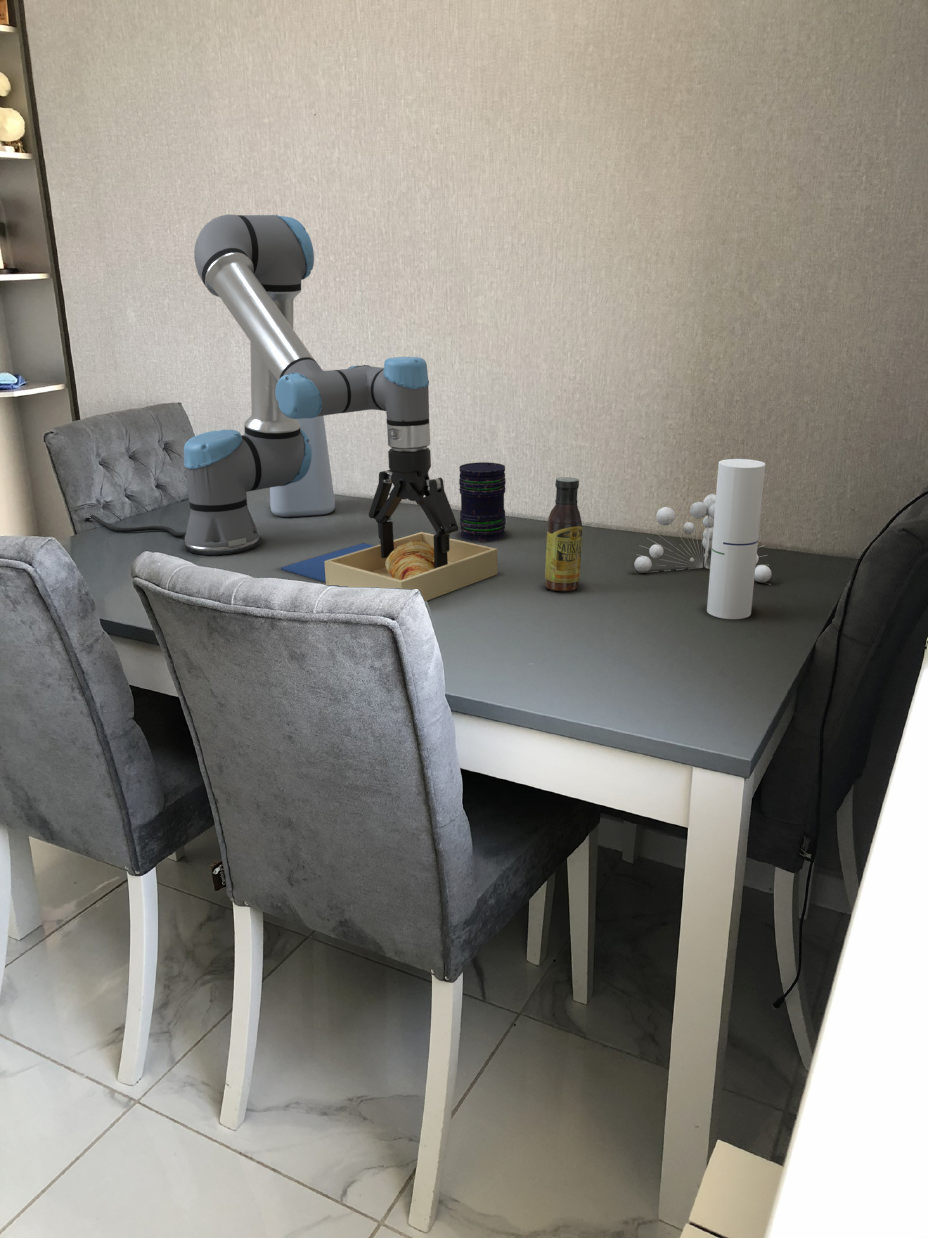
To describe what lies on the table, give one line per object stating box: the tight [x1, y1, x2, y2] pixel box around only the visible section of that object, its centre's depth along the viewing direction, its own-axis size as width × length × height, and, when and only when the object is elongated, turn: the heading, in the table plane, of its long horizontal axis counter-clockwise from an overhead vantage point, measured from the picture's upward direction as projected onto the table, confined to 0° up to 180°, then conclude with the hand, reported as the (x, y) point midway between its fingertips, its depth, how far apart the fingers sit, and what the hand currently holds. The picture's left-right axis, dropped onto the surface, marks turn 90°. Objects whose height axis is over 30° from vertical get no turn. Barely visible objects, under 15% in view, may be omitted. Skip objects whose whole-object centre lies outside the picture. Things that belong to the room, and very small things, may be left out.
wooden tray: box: [325, 531, 498, 602], centre depth 179 cm, size 20×26×5 cm
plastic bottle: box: [269, 416, 336, 518], centre depth 228 cm, size 15×15×28 cm
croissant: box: [385, 540, 435, 580], centre depth 179 cm, size 21×10×8 cm, turn 9°
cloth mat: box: [280, 542, 375, 583], centre depth 191 cm, size 14×22×1 cm, turn 139°
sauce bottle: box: [544, 476, 584, 592], centre depth 171 cm, size 6×6×20 cm
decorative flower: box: [633, 493, 772, 585], centre depth 182 cm, size 25×22×14 cm
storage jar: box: [458, 461, 507, 543], centre depth 206 cm, size 10×10×15 cm
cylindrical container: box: [706, 458, 766, 620], centre depth 157 cm, size 7×7×25 cm
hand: (413, 563), depth 178 cm, fingers closed on croissant, 13 cm apart
